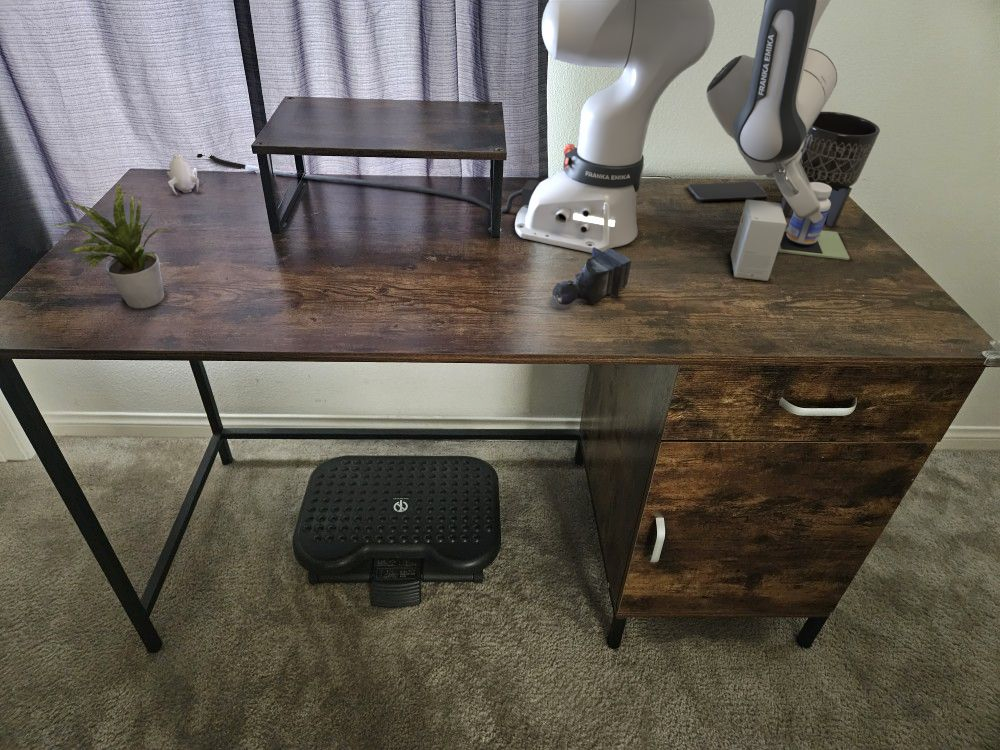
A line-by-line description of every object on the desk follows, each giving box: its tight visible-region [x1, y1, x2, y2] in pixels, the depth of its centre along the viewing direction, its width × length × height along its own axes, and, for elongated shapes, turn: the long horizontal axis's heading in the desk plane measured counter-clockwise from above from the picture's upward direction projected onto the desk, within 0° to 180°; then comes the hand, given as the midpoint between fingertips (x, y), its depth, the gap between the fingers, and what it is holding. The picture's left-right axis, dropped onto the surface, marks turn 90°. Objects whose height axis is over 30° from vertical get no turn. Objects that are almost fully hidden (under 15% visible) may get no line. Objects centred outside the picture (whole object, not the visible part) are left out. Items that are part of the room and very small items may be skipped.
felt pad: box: [777, 226, 851, 261], centre depth 118 cm, size 14×10×1 cm
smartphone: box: [687, 180, 769, 203], centre depth 133 cm, size 7×1×15 cm
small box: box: [730, 199, 788, 282], centre depth 107 cm, size 8×6×10 cm
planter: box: [780, 111, 881, 228], centre depth 121 cm, size 13×13×18 cm
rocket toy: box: [166, 150, 200, 196], centre depth 124 cm, size 5×5×8 cm
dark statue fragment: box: [552, 247, 632, 306], centre depth 99 cm, size 6×13×6 cm, turn 130°
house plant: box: [51, 183, 170, 309], centre depth 93 cm, size 14×14×16 cm
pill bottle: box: [787, 182, 832, 244], centre depth 113 cm, size 5×5×10 cm
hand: (814, 210), depth 113 cm, fingers closed on pill bottle, 5 cm apart
